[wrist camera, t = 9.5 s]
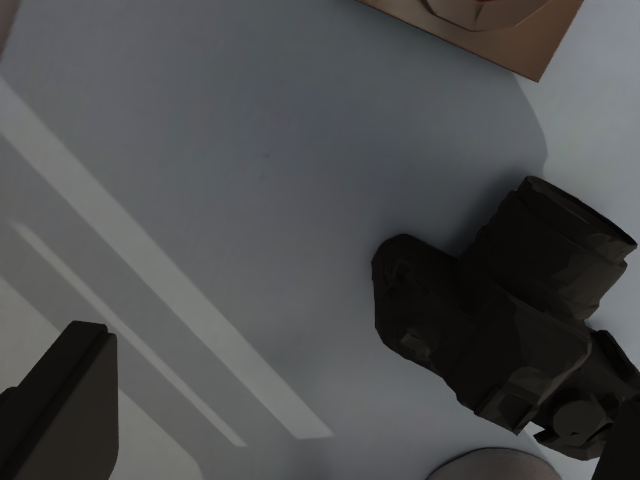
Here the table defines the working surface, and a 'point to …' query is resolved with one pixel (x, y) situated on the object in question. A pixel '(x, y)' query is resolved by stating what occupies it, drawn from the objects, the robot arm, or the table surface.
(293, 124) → the table surface
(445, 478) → the pillar candle
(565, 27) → the button block
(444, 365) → the film camera
